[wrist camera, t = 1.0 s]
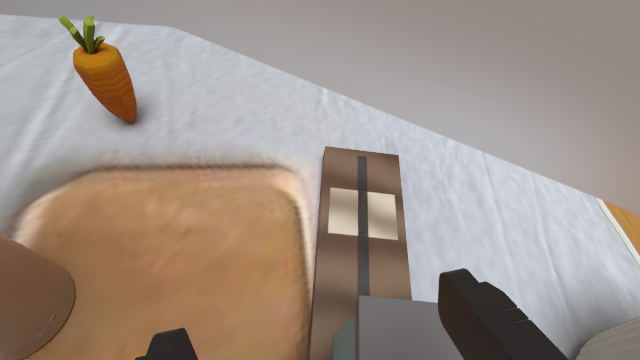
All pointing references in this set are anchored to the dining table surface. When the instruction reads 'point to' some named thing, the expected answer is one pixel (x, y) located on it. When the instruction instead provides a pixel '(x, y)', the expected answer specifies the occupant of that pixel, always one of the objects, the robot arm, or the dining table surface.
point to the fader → (394, 332)
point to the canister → (614, 343)
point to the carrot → (103, 71)
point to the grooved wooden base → (356, 241)
